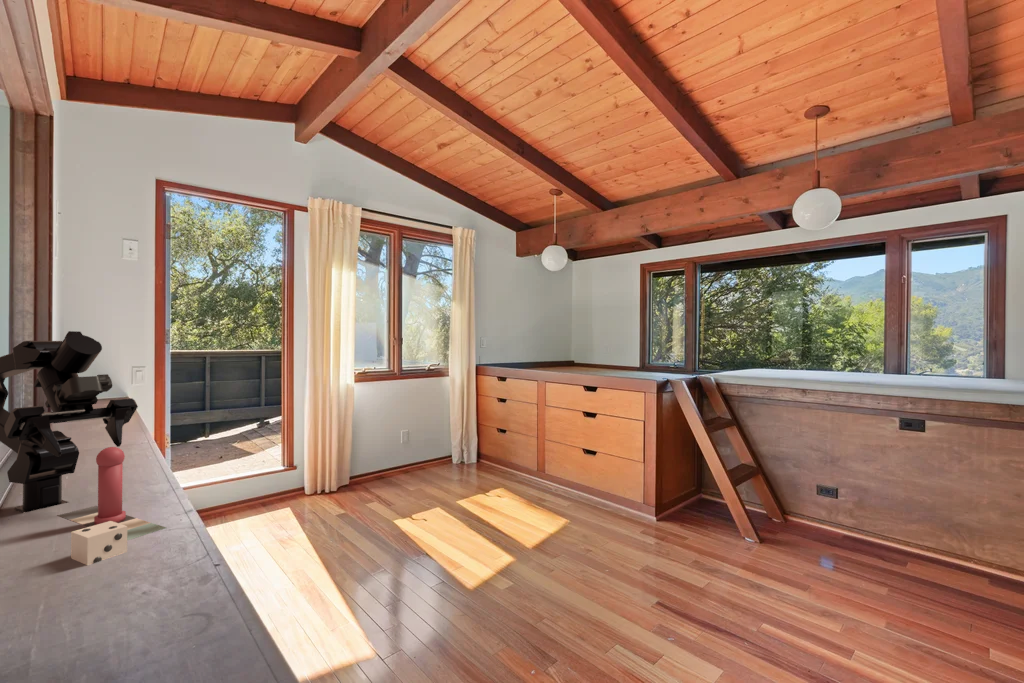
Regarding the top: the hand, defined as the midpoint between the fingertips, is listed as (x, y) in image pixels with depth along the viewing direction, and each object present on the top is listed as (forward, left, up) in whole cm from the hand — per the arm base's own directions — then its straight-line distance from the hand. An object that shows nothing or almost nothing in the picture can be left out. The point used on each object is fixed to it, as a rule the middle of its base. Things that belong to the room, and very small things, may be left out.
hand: (90, 449), depth 90 cm
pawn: (+7, 0, -12) cm, 14 cm away
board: (+7, 0, -13) cm, 15 cm away
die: (+22, -8, -13) cm, 27 cm away
